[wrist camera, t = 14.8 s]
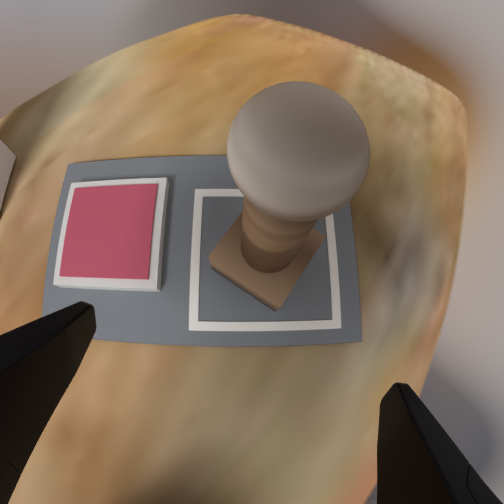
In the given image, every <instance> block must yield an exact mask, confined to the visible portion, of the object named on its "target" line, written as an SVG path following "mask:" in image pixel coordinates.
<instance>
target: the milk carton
mask: <svg viewBox="0 0 504 504" xmlns="http://www.w3.org/2000/svg"><path fill="white" fill-rule="evenodd" d="M15 159H16V156H15V155H14V154H13V153H12V152H11V151H10V149H9V148H8V147H7V146H6V145H5V144H4V143H3V142H2V141H1V140H0V211H1V207H2V203H3V199H4V195H5V191H6V188H7V184H8V181H9V178H10V174H11V171H12V168H13V165H14V162H15Z"/></svg>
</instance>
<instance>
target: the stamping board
mask: <svg viewBox="0 0 504 504" xmlns="http://www.w3.org/2000/svg"><path fill="white" fill-rule="evenodd" d="M243 198H244V195H243V194H242V193H241V192H240V190H239V189H238V187H237V185H236V184H235V182H234V179H233V177H232V175H231V173H230V169H229V165H228V159H227V156H171V157H148V158H131V159H117V160H105V161H94V162H83V163H74V164H68V167H67V171H66V175H65V178H64V182H63V186H62V190H61V194H60V198H59V203H58V207H57V212H56V216H55V221H54V226H53V232H52V237H51V243H50V249H49V255H48V262H47V270H46V277H45V286H44V296H43V308H42V317H44V316H46V315H48V314H51V313H53V312H56V311H58V310H60V309H63V308H65V307H67V306H70V305H72V304H75V303H77V302H79V301H84V302H87V303H89V304H92V305H93V306H94V309H95V317H96V332H95V334H94V336H93V338H92V339H97V340H107V341H119V342H131V343H145V344H161V345H183V346H221V347H259V346H298V345H319V344H336V343H350V342H362V332H361V312H360V296H359V282H358V270H357V259H356V249H355V240H354V231H353V223H352V215H351V207H350V201H349V202H348V203H347V204H346V205H345V206H344V207H342V208H341V209H340V210H338V211H336V212H335V213H333V214H331V215H329V216H326V217H324V218H321V219H318V220H317V222H316V223H315V225H314V227H313V229H315V230H316V231H318V232H319V233H321V234H322V235H324V236H325V238H324V239H323V241H322V243H321V244H320V246H319V248H318V249H317V251H316V252H315V254H314V256H313V257H312V259H311V260H310V262H309V264H308V265H307V267H306V268H305V270H304V271H303V273H302V275H301V276H300V278H299V279H298V281H297V282H296V284H295V286H294V287H293V289H292V290H291V292H290V293H289V295H288V296H287V298H286V299H285V301H284V303H283V304H282V306H281V307H280V308H278V309H277V310H276V311H273V310H272V309H270V308H269V307H267V306H266V305H264V304H263V303H261V302H260V301H258V300H257V299H255V298H254V297H252V296H251V295H249V294H248V293H246V292H245V291H243V290H242V289H240V288H239V287H237V286H236V285H234V284H233V283H231V282H230V281H228V280H227V279H225V278H224V277H223V276H221V275H220V274H218V273H217V272H215V271H214V270H212V268H211V265H210V261H209V258H208V256H209V255H210V253H211V252H212V251H213V249H214V248H215V247H216V245H217V244H218V243H219V241H220V240H221V239H222V237H223V236H224V235H225V233H226V232H227V231H228V229H229V228H230V227H231V225H232V224H233V223H234V221H235V220H236V219H237V217H238V216H239V215H240V214H241V212H242V211H243Z"/></svg>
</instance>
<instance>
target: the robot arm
mask: <svg viewBox="0 0 504 504" xmlns="http://www.w3.org/2000/svg"><path fill="white" fill-rule="evenodd" d="M95 332H96V317H95V309H94V306H93V305H92V304H89V303H87V302H84V301H79V302H77V303H75V304H72V305H70V306H67V307H65V308H63V309H60V310H58V311H56V312H53V313H51V314H48V315H46V316H44V317H41V318H39V319H37V320H34V321H32V322H30V323H27V324H25V325H23V326H21V327H18V328H16V329H14V330H11V331H9V332H7V333H4V334H2V335H0V504H8V502H9V500H10V498H11V495H12V493H13V491H14V489H15V487H16V484H17V482H18V480H19V478H20V476H21V473H22V471H23V469H24V467H25V465H26V463H27V461H28V459H29V457H30V455H31V453H32V451H33V449H34V447H35V445H36V443H37V442H38V440H39V438H40V436H41V434H42V432H43V430H44V428H45V427H46V425H47V423H48V421H49V419H50V417H51V416H52V414H53V412H54V410H55V408H56V407H57V405H58V403H59V401H60V400H61V398H62V396H63V394H64V393H65V391H66V389H67V388H68V386H69V384H70V383H71V381H72V379H73V377H74V376H75V374H76V372H77V370H78V368H79V366H80V364H81V362H82V359H83V357H84V355H85V353H86V351H87V349H88V347H89V344H90V342H91V340H92V338H93V336H94V334H95ZM377 504H503V503H502V502H501V501H500V500H499V499H498V498H497V497H496V495H495V494H494V493H493V492H492V491H491V490H490V488H489V487H488V486H487V485H486V484H485V483H484V481H483V480H482V479H481V477H480V476H479V475H478V474H477V472H476V471H475V470H474V468H473V467H472V466H471V464H469V462H468V460H467V459H466V458H465V456H464V455H463V454H462V452H461V451H460V450H459V449H458V447H457V446H456V445H455V443H454V442H453V441H452V439H451V438H450V437H449V436H448V434H447V433H446V432H445V430H444V429H443V428H442V426H441V425H440V424H439V423H438V421H437V420H436V419H435V418H434V416H433V415H432V414H431V412H430V411H429V410H428V409H427V407H426V406H425V405H424V403H423V402H422V401H421V400H420V398H419V397H418V396H417V395H416V393H415V392H414V391H413V390H412V389H411V387H410V386H409V385H408V384H405V383H398V382H397V383H395V384H393V385H392V387H391V388H390V389H389V391H388V392H387V393H386V394H385V396H384V397H383V398H382V400H381V403H380V415H379V430H378V443H377Z"/></svg>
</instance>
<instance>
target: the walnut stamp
mask: <svg viewBox="0 0 504 504" xmlns="http://www.w3.org/2000/svg"><path fill="white" fill-rule="evenodd" d="M369 157H370V148H369V141H368V136H367V132H366V130H365V127H364V125H363V122H362V120H361V119H360V117H359V115H358V114H357V112H356V111H355V110H354V108H353V107H352V106H351V105H350V104H349V103H348V102H347V101H346V100H345V99H344V98H343V97H341V96H340V95H338V94H337V93H335V92H334V91H332V90H330V89H328V88H326V87H323V86H320V85H317V84H314V83H308V82H300V81H293V82H284V83H280V84H276V85H273V86H270V87H268V88H265V89H263V90H262V91H260V92H259V93H257V94H255V95H254V96H253V97H251V98H250V99H249V100H248V101H247V102H246V103H245V104H244V105H243V107H242V108H241V109H240V110H239V112H238V113H237V115H236V117H235V118H234V120H233V123H232V125H231V128H230V131H229V135H228V140H227V159H228V165H229V169H230V173H231V175H232V177H233V179H234V182H235V184H236V185H237V187H238V189H239V190H240V192H241V193H242V194H243V195H244V198H243V211H242V212H241V214H240V215H239V216H238V217H237V219H236V220H235V221H234V223H233V224H232V225H231V227H230V228H229V229H228V231H227V232H226V233H225V235H224V236H223V237H222V239H221V240H220V241H219V243H218V244H217V245H216V247H215V248H214V249H213V251H212V252H211V253H210V255H209V256H208V258H209V261H210V265H211V268H212V270H214V271H215V272H217V273H218V274H220V275H221V276H223V277H224V278H225V279H227V280H228V281H230V282H231V283H233V284H234V285H236V286H237V287H239V288H240V289H242V290H243V291H245V292H246V293H248V294H249V295H251V296H252V297H254V298H255V299H257V300H258V301H260V302H261V303H263V304H264V305H266V306H267V307H269V308H270V309H272V310H273V311H276V310H277V309H278V308H280V307H281V306H282V304H283V303H284V301H285V299H286V298H287V296H288V295H289V293H290V292H291V290H292V289H293V287H294V286H295V284H296V282H297V281H298V279H299V278H300V276H301V275H302V273H303V271H304V270H305V268H306V267H307V265H308V264H309V262H310V260H311V259H312V257H313V256H314V254H315V252H316V251H317V249H318V248H319V246H320V244H321V243H322V241H323V239H324V238H325V236H324V235H322V234H321V233H319V232H318V231H316V230H315V229H313V227H314V225H315V223H316V222H317V220H318V219H321V218H324V217H326V216H329V215H331V214H333V213H335V212H336V211H338V210H340V209H341V208H342V207H344V206H345V205H346V204H347V203H348V202H349V201H350V200H351V199H352V198H353V197H354V196H355V195H356V193H357V192H358V190H359V189H360V187H361V185H362V184H363V181H364V179H365V177H366V173H367V170H368V166H369Z"/></svg>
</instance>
